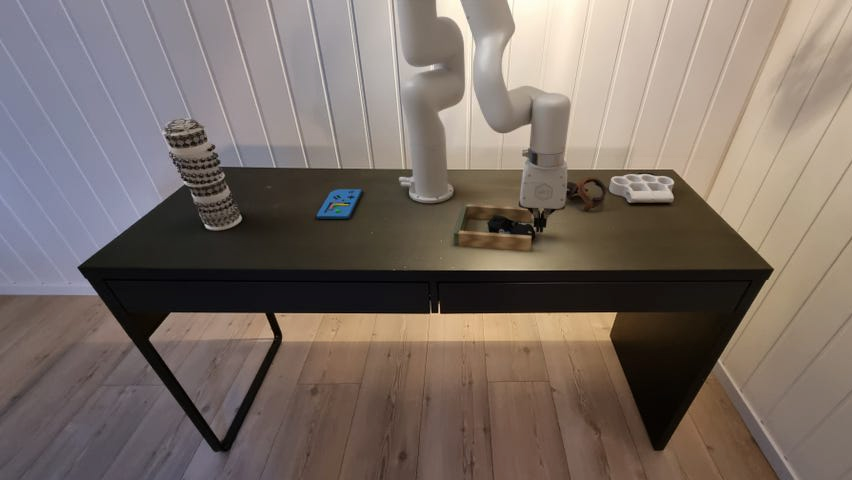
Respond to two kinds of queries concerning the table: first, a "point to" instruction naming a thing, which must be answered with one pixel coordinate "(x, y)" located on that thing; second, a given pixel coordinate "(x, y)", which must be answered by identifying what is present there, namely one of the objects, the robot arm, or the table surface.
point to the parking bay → (492, 238)
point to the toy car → (510, 227)
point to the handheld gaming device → (339, 204)
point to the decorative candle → (202, 173)
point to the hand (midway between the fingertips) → (539, 229)
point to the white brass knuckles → (643, 188)
